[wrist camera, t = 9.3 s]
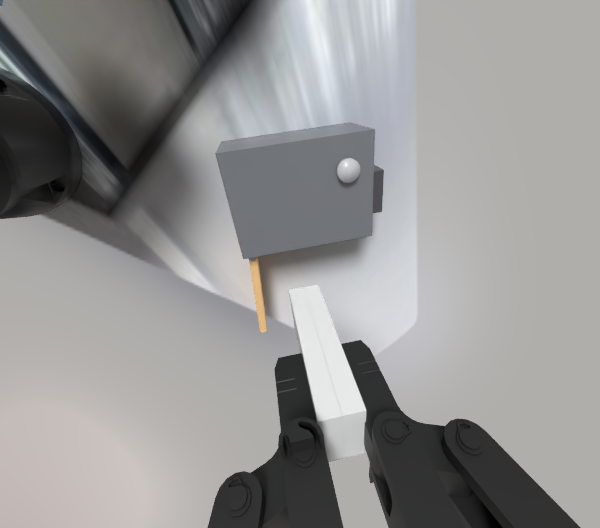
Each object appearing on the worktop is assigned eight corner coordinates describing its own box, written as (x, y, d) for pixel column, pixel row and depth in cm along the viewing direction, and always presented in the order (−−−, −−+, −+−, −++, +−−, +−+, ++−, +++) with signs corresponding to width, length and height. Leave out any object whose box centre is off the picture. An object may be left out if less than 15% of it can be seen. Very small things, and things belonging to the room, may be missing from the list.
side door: (247, 232, 40) (248, 254, 34) (254, 232, 40) (256, 253, 34) (258, 307, 47) (260, 334, 42) (264, 306, 47) (267, 333, 42)
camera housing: (243, 231, 40) (243, 262, 32) (221, 141, 33) (214, 154, 26) (361, 210, 41) (386, 236, 34) (362, 120, 35) (393, 127, 27)
